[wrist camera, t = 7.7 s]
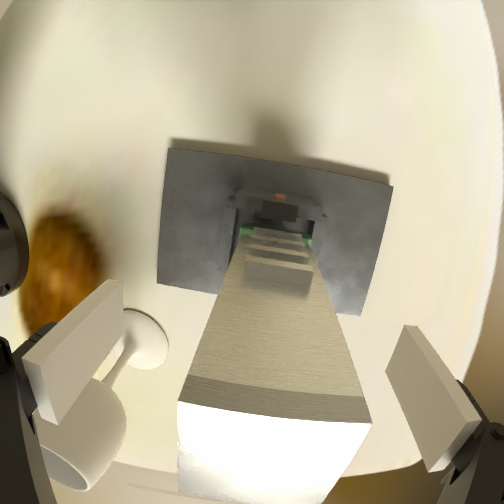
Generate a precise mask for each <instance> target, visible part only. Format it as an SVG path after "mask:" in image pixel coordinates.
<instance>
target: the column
mask: <svg viewBox="0 0 504 504" xmlns="http://www.w3.org/2000/svg"><path fill="white" fill-rule="evenodd" d="M311 242H312V239H311V237H310V234H305V232H302V231H297V230H291V229H285V228H279V227H273V226H267V225H261V224H255V223H248V222H246V224H244V223H242V225H241V227H240V232H239V239H238V244H237V247H236V249H235V252H234V254H233V257H232V259H231V262H230V265H229V267H228V270H227V272H226V275H225V277H224V280H223V283H222V285H221V288H220V290H219V293H218V295H217V298H216V301H215V303H214V306H213V308H212V311H211V314H210V316H209V319H208V322H207V324H206V327H205V329H204V332H203V335H202V337H201V340H200V343H199V345H198V348H197V351H196V353H195V356H194V358H193V361H192V364H191V366H190V369H189V372H188V374H187V377H186V380H185V383H184V385H183V388H182V391H181V393H180V396H179V399H178V415H177V448H178V492H183V493H187V494H192V495H197V496H202V497H207V498H213V499H219V500H226V501H233V502H241V503H249V504H321V503H322V501H323V500H324V499H325V497H326V496H327V495H328V493H329V492H330V490H331V489H332V488H333V486H334V485H335V483H336V482H337V480H338V479H339V477H340V476H341V474H342V473H343V471H344V470H345V468H346V467H347V465H348V464H349V462H350V461H351V459H352V457H353V456H354V454H355V453H356V451H357V449H358V448H359V446H360V444H361V443H362V441H363V439H364V437H365V436H366V434H367V432H368V431H369V429H370V427H371V425H372V420H371V417H370V413H369V410H368V407H367V404H366V401H365V397H364V394H363V391H362V388H361V385H360V382H359V379H358V376H357V373H356V370H355V367H354V364H353V361H352V358H351V355H350V352H349V349H348V346H347V344H346V341H345V338H344V335H343V332H342V329H341V327H340V324H339V321H338V318H337V316H336V313H335V310H334V307H333V305H332V302H331V299H330V296H329V294H328V291H327V288H326V286H325V283H324V281H323V278H322V275H321V273H320V270H319V268H318V265H317V262H316V260H315V257H314V255H313V252H312V250H311Z"/></svg>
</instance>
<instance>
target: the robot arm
mask: <svg viewBox="0 0 504 504" xmlns="http://www.w3.org/2000/svg"><path fill="white" fill-rule="evenodd" d="M28 259H29V258H28V244H27V238H26V234H25V230H24V227H23V224H22V221H21V219H20V217H19V214H18V212H17V211H16V209H15V207H14V206H13V204H12V203H11V202H10V201H9V199H8V198H7V197H6V196H4V195H3V194H2V193H0V297H3V296H6V295H8V294H10V293H11V292H13V291H14V290H16V289H17V288H19V287H20V286H21V284H22V283H23V281H24V279H25V277H26V274H27V269H28ZM123 334H124V318H123V282H121V281H116V280H112V279H107V280H106V281H105V282H104V283H103V284H101V285H100V286H99V287H98V288H97V289H96V290H95V291H93V292H92V293H91V294H90V295H89V296H88V297H87V298H85V299H84V300H83V301H82V302H81V303H80V304H79V305H77V306H76V307H75V308H74V309H73V310H72V311H71V312H70V313H69V314H67V315H66V316H65V317H64V318H63V319H62V320H61V321H60V322H59V323H55V322H50V323H48V324H46V325H44V326H42V327H41V328H39V329H38V330H37V331H36V332H35V333H34V334H33V335H32V336H31V337H29V339H28V340H26V341H25V342H24V343H23V344H22V345H21V346H20V347H18V348H17V349H16V350H15V351H14V352H13V353H11V349H10V346H9V342H8V341H7V340H6V339H5V338H4V337H1V336H0V504H57V502H56V499H55V496H54V493H53V490H52V487H51V484H50V480H49V477H48V474H47V470H46V467H45V463H44V459H43V456H42V452H41V447H40V443H39V439H38V434H37V430H36V425H35V420H34V417H33V414H32V413H33V412H34V410H35V409H36V408H38V410H39V413H40V415H41V418H43V419H45V420H47V421H49V422H52V423H54V424H56V425H59V424H60V422H61V421H62V419H63V418H64V417H65V415H66V414H67V412H68V411H69V409H70V408H71V406H72V405H73V403H74V402H75V400H76V399H77V398H78V396H79V395H80V393H81V392H82V390H83V389H84V388H85V386H86V385H87V383H88V382H89V380H90V379H91V378H92V376H93V375H94V373H95V372H96V371H97V369H98V368H99V366H100V365H101V364H102V362H103V361H104V360H105V358H106V357H107V355H108V354H109V353H110V351H111V350H112V349H113V347H114V346H115V345H116V343H117V342H118V340H119V339H120V338H121V336H122V335H123ZM385 372H386V374H387V376H388V379H389V381H390V383H391V385H392V387H393V390H394V392H395V394H396V396H397V398H398V401H399V403H400V405H401V408H402V410H403V412H404V414H405V417H406V419H407V421H408V424H409V426H410V429H411V431H412V433H413V436H414V438H415V441H416V443H417V445H418V448H419V450H420V453H421V455H422V458H423V460H424V463H425V465H426V468H427V471H428V472H433V471H439V470H444V469H445V467H446V466H447V465H448V464H449V463H450V462H451V460H453V462H454V465H455V466H454V468H453V469H452V470H451V471H450V472H449V473H448V474H447V475H446V477H445V478H444V479H443V480H442V481H441V482H440V483H441V484H443V483H444V482H445V481H446V480H447V481H446V484H445V486H444V488H443V491H442V493H441V495H440V498H439V500H438V502H437V504H504V426H503V425H501V424H500V423H496V422H492V423H490V422H489V420H488V419H487V417H486V416H485V414H484V412H483V411H482V409H481V408H480V406H479V405H478V403H477V402H475V401H476V400H475V399H474V397H473V396H471V395H472V394H471V393H470V392H469V390H468V389H467V387H466V386H465V385H464V384H462V383H461V382H460V381H459V380H456V379H455V378H454V376H453V375H452V374H451V372H450V371H449V369H448V368H447V366H446V365H445V364H444V362H443V361H442V359H441V358H440V356H439V355H438V354H437V352H436V351H435V350H434V348H433V347H432V345H431V344H430V343H429V341H428V340H427V339H426V337H425V336H424V335H423V333H422V332H421V331H420V329H419V328H418V327H417V326H409V325H404V327H403V329H402V332H401V335H400V337H399V340H398V342H397V345H396V347H395V350H394V352H393V354H392V357H391V359H390V361H389V364H388V366H387V368H386V371H385Z"/></svg>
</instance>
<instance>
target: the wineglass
mask: <svg viewBox="0 0 504 504" xmlns="http://www.w3.org/2000/svg"><path fill="white" fill-rule="evenodd" d="M123 318H124V334H123V335H122V336H121V338H120V339H119V340H118V342H117V343H116V345H115V346H114V347H113V349H112V351H113V353H114V354H115V355H116V356H117V357H118V358H119V359H118V360H117V362H116V363H115V365H114V366H113V368H112V369H111V371H110V372H109V373H108V375H107V376H106V377H105V378H104V379H103V380H102V381H99V380H96V379H94V378H91V379H90V380H89V382H88V383H87V385H86V386H85V388H84V389H83V390H82V392H81V393H80V395H79V396H78V398H77V399H76V400H75V402H74V403H73V405H72V406H71V408H70V409H69V411H68V412H67V414H66V415H65V417H64V418H63V419H62V421H61V422H60V424H59V425H56V424H54V423H52V422H49V421H47V420H45V419H43V418H41V415H40V413H39V410H38V408H36V410H35V412H34V413H33V417H34V420H35V425H36V430H37V434H38V439H39V443H40V447H41V452H42V456H43V459H44V463H45V467H46V470H47V474H48V477H49V478H51V479H52V480H54V481H56V482H57V483H59V484H61V485H63V486H65V487H68V488H70V489H73V490H76V491H87V490H89V489H90V488H91V487H92V486H93V485H94V484H95V483H96V482H97V481H98V480H99V479H100V477H101V476H102V475H103V474H104V473H105V471H106V470H107V469H108V467H109V466H110V464H111V463H112V461H113V460H114V458H115V456H116V455H117V453H118V451H119V448H120V446H121V444H122V441H123V438H124V435H125V431H126V416H125V411H124V408H123V406H122V403H121V401H120V400H119V398H118V396H117V395H116V394H115V392H114V391H113V390H112V386H113V384H114V382H115V380H116V378H117V376H118V374H119V373H120V371H121V370H122V368H123V367H124V366H125V364H128V365H130V366H132V367H135V368H139V369H152V368H156V367H158V366H160V365H161V364H162V363H163V362H164V361H165V360H166V358H167V356H168V351H169V346H168V341H167V338H166V336H165V334H164V332H163V330H162V329H161V328H160V326H159V325H158V324H157V323H156V322H155V321H154V320H152V319H151V318H150V317H148V316H146V315H144V314H142V313H140V312H137V311H132V310H123Z"/></svg>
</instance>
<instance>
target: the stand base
mask: <svg viewBox="0 0 504 504" xmlns="http://www.w3.org/2000/svg"><path fill="white" fill-rule="evenodd" d="M392 192H393V186H390V185H386V184H382V183H378V182H374V181H369V180H365V179H361V178H356V177H351V176H347V175H342V174H337V173H333V172H328V171H323V170H318V169H312V168H307V167H302V166H296V165H290V164H285V163H279V162H273V161H267V160H260V159H254V158H247V157H240V156H233V155H225V154H218V153H209V152H201V151H192V150H182V149H172V148H168V154H167V163H166V171H165V180H164V189H163V199H162V210H161V222H160V235H159V250H158V268H157V283H159V284H164V285H169V286H174V287H179V288H185V289H190V290H195V291H201V292H206V293H212V294H218V293H219V290H220V288H221V285H222V283H223V280H224V277H225V275H226V272H227V270H228V267H229V265H230V262H231V259H232V257H233V254H234V252H235V249H236V247H237V244H238V239H239V232H240V227H241V225H242V223H244V224H246V222H248V223H255V224H261V225H267V226H273V227H279V228H285V229H291V230H297V231H302V232H305V234H310V237H311V239H312V242H311V250H312V252H313V255H314V257H315V260H316V262H317V265H318V268H319V270H320V273H321V275H322V278H323V281H324V283H325V286H326V288H327V291H328V294H329V296H330V299H331V302H332V305H333V307H334V310H335V313H341V314H349V315H357V316H360V315H361V312H362V309H363V306H364V302H365V299H366V296H367V292H368V289H369V286H370V282H371V279H372V275H373V271H374V268H375V264H376V260H377V257H378V253H379V249H380V245H381V241H382V237H383V233H384V228H385V224H386V220H387V215H388V211H389V206H390V202H391V197H392Z"/></svg>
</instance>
